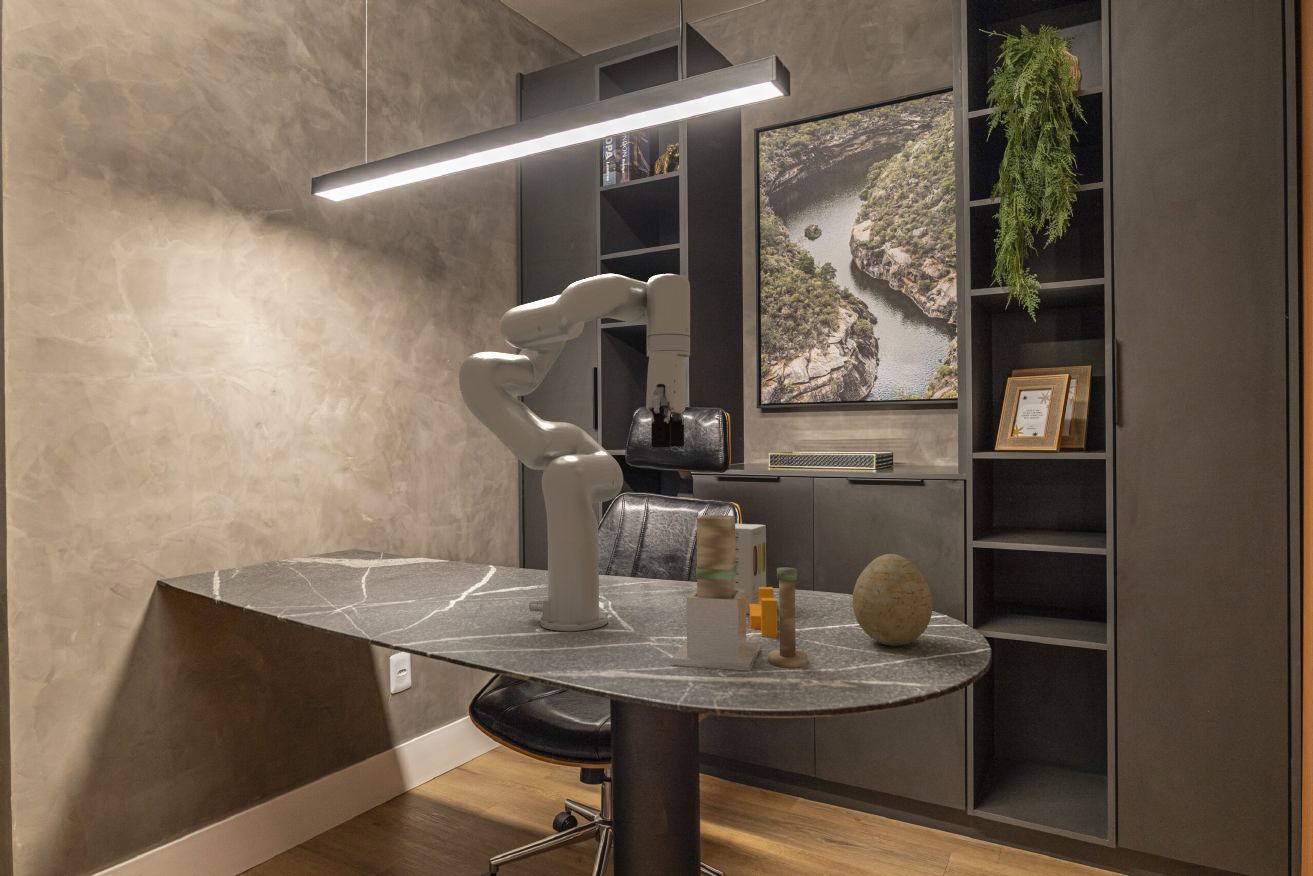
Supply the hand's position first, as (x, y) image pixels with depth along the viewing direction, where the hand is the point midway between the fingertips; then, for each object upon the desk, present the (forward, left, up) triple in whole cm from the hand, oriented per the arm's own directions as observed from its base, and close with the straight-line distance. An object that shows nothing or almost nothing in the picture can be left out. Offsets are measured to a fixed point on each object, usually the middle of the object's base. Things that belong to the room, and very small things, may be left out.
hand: (668, 446), depth 130 cm
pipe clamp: (+15, +11, -34) cm, 38 cm away
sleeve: (+10, -9, -33) cm, 36 cm away
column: (+10, -9, -26) cm, 29 cm away
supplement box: (+8, +26, -33) cm, 43 cm away
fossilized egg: (+37, +5, -33) cm, 50 cm away
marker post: (+21, -9, -33) cm, 40 cm away
